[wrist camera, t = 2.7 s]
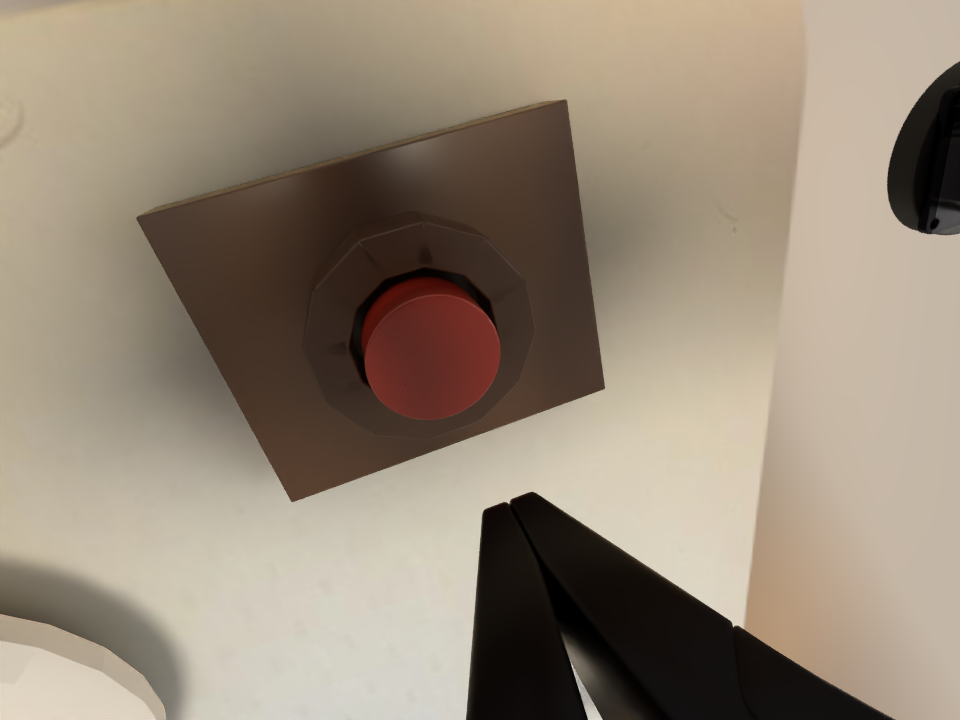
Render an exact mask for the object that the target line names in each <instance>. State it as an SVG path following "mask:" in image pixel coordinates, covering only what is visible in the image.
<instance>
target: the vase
mask: <svg viewBox="0 0 960 720" xmlns="http://www.w3.org/2000/svg"><path fill="white" fill-rule="evenodd" d="M0 720H166V714H165V707H164V705H163V704H162V702H161V701H160V699H159V698H158V696H157V695H156V693H155V692H154V691H153V689H152V688H151V686H150V685H149V683H148V682H147V680H146V679H145V677H144V676H143V675H142V674H141V673H139V672H138V671H137V670H135V669H134V668H132V667H131V666H130V665H128V664H127V663H126V662H124V661H123V660H122V659H120V658H119V657H118V656H116V655H115V654H114V653H112V652H111V651H110V650H108V649H107V648H105V647H103V646H101V645H98V644H96V643H93V642H91V641H89V640H86V639H84V638H81V637H79V636H77V635H74V634H72V633H69V632H67V631H64V630H62V629H60V628H57V627H55V626H52V625H50V624H45V623H40V622H35V621H31V620H26V619H21V618H16V617H12V616H7V615H2V614H0Z"/></svg>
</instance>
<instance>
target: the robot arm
mask: <svg viewBox="0 0 960 720" xmlns="http://www.w3.org/2000/svg"><path fill="white" fill-rule="evenodd" d="M957 225H960V84H959V85H955V86H952V87H950V88H948V89H947V90H946V91H945V92H944V94H943V96H942V98H941V101H940V105H939V111H938V116H937V122H936V127H935V133H934V138H933V144H932V149H931V155H930V160H929V166H928V171H927V177H926V182H925V188H924V193H923V199H922V204H921V210H920V215H919V221H918V231H919V232H921V233H925V234H934V233H937V232H940V231H943V230H946V229H949V228H951V227H954V226H957ZM570 661H571V663H572V665H573V666H574V668H575V670H576V672H577V674H578V675H579V677H580V679H581V681H582V683H583V685H584V686H585V688H586V690H587V692H588V694H589V695H590V697H591V699H592V701H593V703H594V705H595V706H596V708H597V710H598V712H599V714H600V715H601V717H602V719H603V720H895V719H893V718H891V717H889V716H887V715H885V714H884V713H882V712H880V711H878V710H876V709H874V708H873V707H871V706H869V705H867V704H866V703H864V702H862V701H860V700H859V699H857V698H855V697H853V696H851V695H850V694H848V693H846V692H844V691H843V690H841V689H839V688H837V687H835V686H834V685H832V684H830V683H828V682H827V681H825V680H823V679H821V678H820V677H818V676H816V675H814V674H813V673H811V672H810V671H808V670H806V669H804V668H803V667H802V666H800V665H798V664H797V663H795V662H794V661H792V660H790V659H789V658H787V657H786V656H784V655H782V654H781V653H779V652H778V651H776V650H774V649H773V648H771V647H770V646H768V645H766V644H765V643H763V642H762V641H760V640H759V639H757V638H756V637H754V636H753V635H751V634H750V633H748V632H747V631H745V630H744V629H742V628H741V627H739V626H734V627H733V625H732V622H731V621H730V620H728V619H727V618H725V617H724V616H722V615H721V614H719V613H718V612H716V611H715V610H713V609H711V608H710V607H708V606H707V605H705V604H704V603H702V602H701V601H699V600H698V599H696V598H695V597H693V596H692V595H690V594H689V593H687V592H686V591H684V590H683V589H681V588H680V587H678V586H676V585H675V584H673V583H672V582H670V581H669V580H667V579H666V578H664V577H663V576H661V575H660V574H658V573H657V572H655V571H654V570H652V569H651V568H649V567H648V566H646V565H645V564H643V563H641V562H640V561H638V560H637V559H635V558H634V557H632V556H631V555H629V554H628V553H626V552H625V551H623V550H622V549H620V548H619V547H617V546H616V545H614V544H613V543H611V542H610V541H608V540H606V539H605V538H603V537H602V536H600V535H599V534H597V533H596V532H594V531H593V530H591V529H590V528H588V527H587V526H585V525H584V524H582V523H581V522H579V521H578V520H576V519H574V518H573V517H571V516H570V515H568V514H567V513H565V512H564V511H562V510H561V509H559V508H558V507H556V506H555V505H553V504H552V503H550V502H549V501H547V500H546V499H544V498H543V497H541V496H539V495H538V494H536V493H534V492H529V493H526V494H524V495H521V496H518V497H516V498H513V499H511V501H510V503H509V504H508V503H507V502H503V503H500V504H498V505H495V506H492V507H490V508H487V509H485V510H484V511H483V514H482V525H481V538H480V551H479V563H478V576H477V588H476V601H475V614H474V626H473V639H472V652H471V664H470V677H469V690H468V702H467V715H466V720H588V718H587V715H586V712H585V709H584V705H583V702H582V699H581V695H580V692H579V689H578V686H577V682H576V679H575V676H574V673H573V669H572V666H571V663H570Z"/></svg>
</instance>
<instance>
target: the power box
mask: <svg viewBox="0 0 960 720" xmlns="http://www.w3.org/2000/svg"><path fill="white" fill-rule="evenodd" d="M136 218H137V221H138V223H139V225H140V226H141V228H142V230H143V232H144V234H145V236H146V237H147V239H148V241H149V243H150V245H151V247H152V248H153V250H154V252H155V254H156V256H157V257H158V259H159V261H160V263H161V265H162V267H163V268H164V270H165V272H166V274H167V276H168V277H169V279H170V281H171V283H172V285H173V287H174V288H175V290H176V292H177V294H178V296H179V298H180V299H181V301H182V303H183V305H184V307H185V308H186V310H187V312H188V314H189V316H190V318H191V319H192V321H193V323H194V325H195V327H196V329H197V330H198V332H199V334H200V336H201V338H202V339H203V341H204V343H205V345H206V347H207V349H208V350H209V352H210V354H211V356H212V358H213V360H214V361H215V363H216V365H217V367H218V369H219V370H220V372H221V374H222V376H223V378H224V380H225V381H226V383H227V385H228V387H229V389H230V390H231V392H232V394H233V396H234V398H235V400H236V401H237V403H238V405H239V407H240V409H241V411H242V412H243V414H244V416H245V418H246V420H247V421H248V423H249V425H250V427H251V429H252V431H253V432H254V434H255V436H256V438H257V440H258V442H259V443H260V445H261V447H262V449H263V451H264V452H265V454H266V456H267V458H268V460H269V462H270V463H271V465H272V467H273V469H274V471H275V472H276V474H277V476H278V478H279V480H280V482H281V483H282V485H283V487H284V489H285V491H286V493H287V494H288V496H289V498H290V500H291V501H292V502H294V501H297V500H300V499H303V498H305V497H308V496H311V495H314V494H316V493H319V492H322V491H325V490H327V489H330V488H333V487H336V486H339V485H341V484H344V483H347V482H350V481H352V480H355V479H358V478H361V477H363V476H366V475H369V474H372V473H374V472H377V471H380V470H383V469H385V468H388V467H391V466H394V465H396V464H399V463H402V462H405V461H407V460H410V459H413V458H416V457H418V456H421V455H424V454H427V453H429V452H432V451H435V450H438V449H440V448H443V447H446V446H449V445H451V444H454V443H457V442H460V441H462V440H465V439H468V438H471V437H474V436H476V435H479V434H482V433H485V432H487V431H490V430H493V429H496V428H498V427H501V426H504V425H507V424H509V423H512V422H515V421H518V420H520V419H523V418H526V417H529V416H531V415H534V414H537V413H540V412H542V411H545V410H548V409H551V408H553V407H556V406H559V405H562V404H564V403H567V402H570V401H573V400H575V399H578V398H581V397H584V396H586V395H589V394H592V393H595V392H597V391H600V390H603V389H605V385H604V378H603V370H602V363H601V355H600V347H599V340H598V332H597V325H596V317H595V310H594V302H593V294H592V287H591V279H590V272H589V264H588V257H587V249H586V241H585V234H584V226H583V219H582V211H581V204H580V196H579V188H578V181H577V173H576V166H575V158H574V151H573V143H572V135H571V128H570V120H569V113H568V105H567V100H556V101H547V102H541V103H538V104H534V105H530V106H527V107H523V108H519V109H516V110H512V111H508V112H505V113H501V114H497V115H494V116H490V117H486V118H483V119H479V120H475V121H472V122H468V123H464V124H461V125H457V126H453V127H450V128H446V129H442V130H439V131H435V132H431V133H428V134H424V135H420V136H417V137H413V138H409V139H406V140H402V141H398V142H395V143H391V144H387V145H384V146H380V147H376V148H373V149H369V150H365V151H361V152H358V153H354V154H350V155H347V156H343V157H339V158H336V159H332V160H328V161H325V162H321V163H317V164H314V165H310V166H306V167H303V168H299V169H295V170H292V171H288V172H284V173H281V174H277V175H273V176H270V177H266V178H262V179H259V180H255V181H251V182H248V183H244V184H240V185H237V186H233V187H229V188H226V189H222V190H218V191H215V192H211V193H207V194H204V195H200V196H196V197H193V198H189V199H185V200H182V201H178V202H174V203H171V204H167V205H163V206H159V207H156V208H154V209H152V210H150V211H148V212H146V213H144V214H141V215H139V216H138V217H136ZM416 277H436V278H441V279H445V280H448V281H450V282H453V283H455V284H457V285H458V286H460V287H461V288H463V289H464V290H465V291H466V292H468V293H469V295H470V296H471V297H472V298H473V299H474V300H475V301H476V303H477V304H478V305H479V306H480V307H481V308H482V310H483V311H484V312H485V313H486V314H487V316H488V317H489V318H490V320H491V321H492V323H493V324H494V326H495V328H496V330H497V333H498V337H499V341H500V353H501V354H500V363H499V367H498V371H497V373H496V376H495V378H494V380H493V382H492V384H491V386H490V387H489V388H488V390H487V391H486V392H485V394H484V395H483V396H482V397H481V398H480V399H479V400H478V401H477V402H475V403H474V404H473V405H472V406H470V407H469V408H467V409H465V410H464V411H462V412H460V413H458V414H455V415H453V416H449V417H446V418H442V419H436V420H419V419H413V418H409V417H406V416H403V415H401V414H398V413H396V412H394V411H393V410H391V409H390V408H388V407H387V406H386V405H384V404H383V403H382V402H381V401H380V400H379V399H378V398H377V396H376V395H375V393H374V392H373V390H372V389H371V387H370V384H369V382H368V379H367V376H366V371H365V365H364V358H363V352H362V346H361V331H362V325H363V322H364V318H365V316H366V314H367V312H368V310H369V308H370V307H371V305H372V304H373V302H374V301H375V300H376V299H377V298H378V297H379V296H380V295H381V294H382V293H383V292H384V291H386V290H387V289H388V288H390V287H391V286H393V285H395V284H397V283H399V282H402V281H404V280H407V279H411V278H416Z"/></svg>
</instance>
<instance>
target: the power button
mask: <svg viewBox="0 0 960 720" xmlns="http://www.w3.org/2000/svg"><path fill="white" fill-rule="evenodd" d="M361 346H362V352H363V358H364V365H365V371H366V376H367V379H368V382H369V384H370V387H371V389H372V390H373V392H374V393H375V395H376V396H377V398H378V399H379V400H380V401H381V402H382V403H383V404H384V405H386V406H387V407H388V408H390V409H391V410H393V411H394V412H396V413H398V414H401V415H403V416H406V417H409V418H413V419H419V420H436V419H442V418H446V417H449V416H453V415H455V414H458V413H460V412H462V411H464V410H465V409H467V408H469V407H470V406H472V405H473V404H474V403H475V402H477V401H478V400H479V399H480V398H481V397H482V396H483V395H484V394H485V392H486V391H487V390H488V388H489V387H490V386H491V384H492V382H493V380H494V378H495V376H496V373H497V371H498V367H499V363H500V354H501V353H500V341H499V337H498V333H497V330H496V328H495V326H494V324H493V323H492V321H491V320H490V318H489V317H488V316H487V314H486V313H485V312H484V311H483V310H482V308H481V307H480V306H479V305H478V304H477V303H476V301H475V300H474V299H473V298H472V297H471V296H470V295H469V293H468V292H466V291H465V290H464V289H463V288H461V287H460V286H458V285H457V284H455V283H453V282H450V281H448V280H445V279H441V278H436V277H416V278H411V279H407V280H404V281H402V282H399V283H397V284H395V285H393V286H391V287H390V288H388V289H387V290H386V291H384V292H383V293H382V294H381V295H380V296H379V297H378V298H377V299H376V300H375V301H374V302H373V304H372V305H371V307H370V308H369V310H368V312H367V314H366V316H365V318H364V322H363V325H362V331H361Z"/></svg>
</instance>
